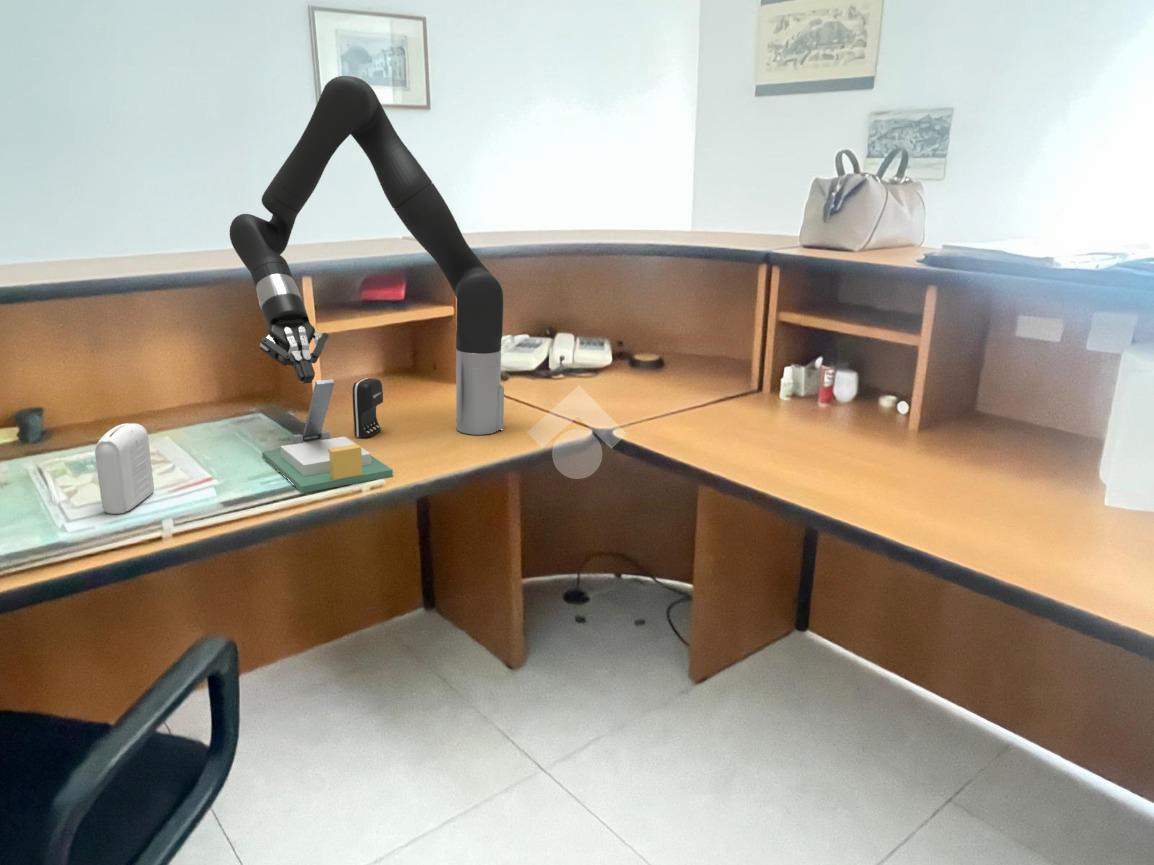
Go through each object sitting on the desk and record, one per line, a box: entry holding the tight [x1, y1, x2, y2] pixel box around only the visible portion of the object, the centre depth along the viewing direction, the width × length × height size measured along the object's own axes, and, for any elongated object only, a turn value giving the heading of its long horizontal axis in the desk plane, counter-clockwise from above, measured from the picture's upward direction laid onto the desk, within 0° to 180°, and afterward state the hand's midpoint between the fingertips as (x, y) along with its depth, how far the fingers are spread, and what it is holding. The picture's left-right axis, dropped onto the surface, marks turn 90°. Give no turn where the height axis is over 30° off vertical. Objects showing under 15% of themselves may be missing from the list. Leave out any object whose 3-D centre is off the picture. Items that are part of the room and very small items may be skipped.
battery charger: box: [352, 377, 384, 438], centre depth 162 cm, size 7×4×11 cm, turn 167°
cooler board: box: [261, 429, 394, 494], centre depth 143 cm, size 21×16×6 cm
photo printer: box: [94, 423, 155, 515], centre depth 123 cm, size 10×4×12 cm, turn 3°
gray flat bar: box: [301, 378, 335, 443], centre depth 143 cm, size 16×3×1 cm
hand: (308, 380), depth 145 cm, fingers closed
